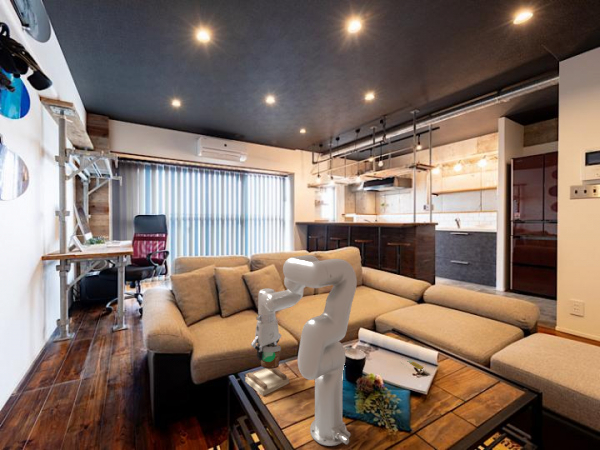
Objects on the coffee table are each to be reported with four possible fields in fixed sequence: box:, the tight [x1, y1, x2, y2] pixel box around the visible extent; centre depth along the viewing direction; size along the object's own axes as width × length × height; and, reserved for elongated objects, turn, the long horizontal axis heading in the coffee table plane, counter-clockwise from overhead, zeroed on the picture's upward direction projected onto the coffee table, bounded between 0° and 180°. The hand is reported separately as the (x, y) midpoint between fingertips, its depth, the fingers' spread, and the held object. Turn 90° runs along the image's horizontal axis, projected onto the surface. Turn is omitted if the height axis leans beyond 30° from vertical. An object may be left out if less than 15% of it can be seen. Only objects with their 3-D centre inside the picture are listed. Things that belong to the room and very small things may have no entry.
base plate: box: [244, 368, 290, 397], centre depth 124 cm, size 14×14×4 cm
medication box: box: [407, 358, 424, 370], centre depth 134 cm, size 12×3×4 cm, turn 26°
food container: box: [259, 343, 282, 369], centre depth 124 cm, size 12×6×10 cm, turn 47°
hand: (266, 356), depth 124 cm, fingers closed on food container, 6 cm apart
